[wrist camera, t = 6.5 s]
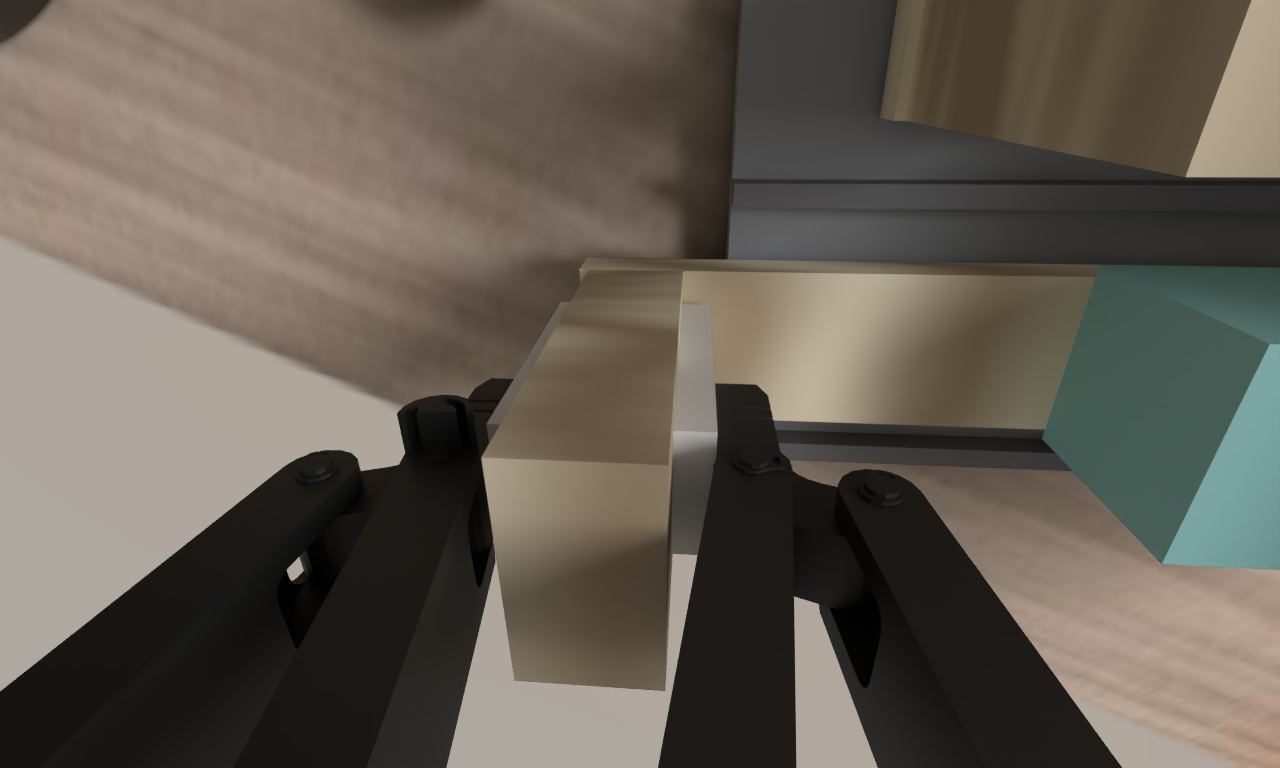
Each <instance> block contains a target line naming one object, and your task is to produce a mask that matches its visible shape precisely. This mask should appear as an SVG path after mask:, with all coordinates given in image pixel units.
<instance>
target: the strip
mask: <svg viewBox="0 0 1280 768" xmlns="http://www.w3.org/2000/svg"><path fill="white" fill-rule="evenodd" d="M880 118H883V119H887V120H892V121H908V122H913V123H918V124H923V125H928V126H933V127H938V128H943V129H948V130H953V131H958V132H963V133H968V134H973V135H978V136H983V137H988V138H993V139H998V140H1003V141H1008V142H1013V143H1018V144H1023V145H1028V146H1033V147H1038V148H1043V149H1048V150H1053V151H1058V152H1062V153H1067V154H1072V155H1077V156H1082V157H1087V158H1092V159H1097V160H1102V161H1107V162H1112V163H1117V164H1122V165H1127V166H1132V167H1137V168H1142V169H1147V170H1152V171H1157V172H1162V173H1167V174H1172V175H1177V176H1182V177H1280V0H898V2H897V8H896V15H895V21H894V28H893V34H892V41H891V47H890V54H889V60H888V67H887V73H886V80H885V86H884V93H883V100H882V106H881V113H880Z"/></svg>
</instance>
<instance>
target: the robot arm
mask: <svg viewBox="0 0 1280 768" xmlns="http://www.w3.org/2000/svg"><path fill="white" fill-rule="evenodd" d="M48 1H49V0H0V41H2V40H4V39H6V38H8V37H9V36H11V35H13V34H14V33H15V32H17V31H18V30H20V29H21V28H22V27H24V26H25V25H26V24H27V23H28V22H29V21H30V20H31V19H33V18H34V17H35V16H36V15H37V14H38V13H39V11H40V10H41V9H42V8H43V7H44V5H45V4H46V3H47V2H48ZM569 303H570V302H561V303H560V304H559V306H558V308H557V309H556V311H555V313H554V314H553V316H552V317H551V319H550V321H549V322H548V324H547V326H546V327H545V329H544V331H543V332H542V334H541V335H540V337H539V339H538V340H537V342H536V344H535V345H534V347H533V349H532V350H531V352H530V354H529V355H528V357H527V358H526V360H525V362H524V363H523V365H522V367H521V368H520V370H519V372H518V373H517V375H516V377H515V378H514V379H497V378H491V379H489V380H488V381H486V382H485V383H483V384H481V385H480V386H478V387H476V388H475V389H474V391H473V392H472V394H471V395H470V396H469V398H468V399H466V398H463V397H460V396H454V395H438V396H430V397H426V398H423V399H419V400H416V401H414V402H412V403H410V404H408V405H406V406H404V407H403V408H402V409H401V410H400V411H399V412H398V413H397V416H398V421H399V425H400V430H401V435H402V439H403V444H404V449H405V455H404V457H403V458H402V460H401V462H400V464H399V465H397V466H392V467H386V468H379V469H372V470H366V471H360V467H359V463H358V459H357V458H356V457H355V456H354V455H353V454H352V453H349V452H345V451H341V450H340V451H339V450H335V451H334V450H333V451H332V450H325V451H320V452H313V453H310V454H308V455H306V456H304V457H301V458H298V459H296V460H294V461H293V462H291V463H289V464H288V465H286V466H285V467H283V468H282V469H281V470H279V471H278V472H277V473H276V474H274V475H273V476H272V477H271V478H269V479H268V480H267V481H266V482H264V483H263V484H262V485H260V486H259V487H258V488H257V489H255V490H254V491H253V492H252V493H250V494H249V495H248V496H247V497H245V498H244V499H243V500H241V501H240V502H239V503H238V504H236V505H235V506H234V507H233V508H232V509H230V510H229V511H228V512H226V513H225V514H224V515H223V516H222V517H220V518H219V519H218V520H216V521H215V522H214V523H212V524H211V525H210V526H209V527H208V528H206V529H205V530H204V531H202V532H201V533H200V534H199V535H197V536H196V537H195V538H193V539H192V540H191V541H190V542H188V543H187V544H186V545H185V546H183V547H182V548H181V549H180V550H178V551H177V552H176V553H175V554H173V555H172V556H171V557H169V558H168V559H167V560H166V561H165V562H163V563H162V564H161V565H159V566H158V567H157V568H156V569H154V570H153V571H152V572H151V573H149V574H148V575H147V576H146V577H144V578H143V579H142V580H141V581H139V582H138V583H137V584H135V585H134V586H133V587H132V588H131V589H129V590H128V591H127V592H125V593H124V594H123V595H122V596H120V597H119V598H118V599H117V600H115V601H114V602H113V603H111V604H110V605H109V606H108V607H106V608H105V609H104V610H103V611H101V612H100V613H99V614H98V615H96V616H95V617H94V618H93V619H91V620H90V621H89V622H88V623H86V624H85V625H84V626H82V627H81V628H80V629H79V630H77V631H76V632H75V633H74V634H72V635H71V636H70V637H69V638H67V639H66V640H65V641H63V642H62V643H61V644H60V645H58V646H57V647H56V648H55V649H53V650H52V651H51V652H50V653H48V654H47V655H46V656H44V657H43V658H42V659H41V660H40V661H38V662H37V663H36V664H34V665H33V666H32V667H31V668H29V669H28V670H27V671H26V672H24V673H23V674H22V675H20V676H19V677H18V678H17V679H16V680H14V681H13V682H12V683H10V684H9V685H8V686H7V687H6V688H4V689H3V690H2V691H0V768H446V766H447V762H448V758H449V754H450V750H451V746H452V741H453V737H454V733H455V729H456V725H457V720H458V715H459V712H460V708H461V704H462V699H463V695H464V691H465V687H466V682H467V678H468V674H469V670H470V666H471V661H472V657H473V653H474V649H475V645H476V641H477V636H478V632H479V628H480V624H481V620H482V615H483V611H484V607H485V603H486V598H487V594H488V590H489V586H490V582H491V577H492V573H493V569H494V565H495V549H494V543H493V533H492V526H491V519H490V513H489V506H488V499H487V493H486V486H485V479H484V473H483V466H482V459H481V457H482V455H483V454H484V452H485V450H486V448H487V447H488V445H489V443H490V441H491V440H492V438H493V436H494V434H495V433H496V431H497V429H498V427H499V426H500V424H501V422H502V420H503V419H504V417H505V415H506V413H507V412H508V410H509V408H510V406H511V405H512V403H513V401H514V399H515V398H516V396H517V394H518V392H519V391H520V389H521V387H522V385H523V384H524V382H525V380H526V378H527V377H528V375H529V373H530V371H531V370H532V368H533V366H534V364H535V363H536V361H537V359H538V357H539V356H540V354H541V352H542V350H543V349H544V347H545V345H546V343H547V342H548V340H549V338H550V336H551V335H552V333H553V331H554V329H555V328H556V326H557V324H558V322H559V321H560V319H561V317H562V315H563V314H564V312H565V310H566V308H567V307H568V305H569ZM671 554H690V555H698V556H697V562H696V567H695V573H694V578H693V583H692V589H691V594H690V599H689V604H688V610H687V615H686V621H685V626H684V631H683V637H682V642H681V648H680V653H679V658H678V664H677V669H676V674H675V680H674V685H673V691H672V696H671V701H670V706H669V712H668V717H667V722H666V728H665V733H664V738H663V744H662V749H661V755H660V760H659V765H658V768H796V720H795V719H796V715H795V714H796V712H795V642H794V596H795V597H798V598H801V599H805V600H808V601H811V602H814V603H818V604H819V609H820V614H821V617H822V619H823V622H824V625H825V627H826V630H827V633H828V635H829V638H830V640H831V643H832V646H833V649H834V651H835V654H836V657H837V659H838V662H839V664H840V667H841V670H842V673H843V676H844V678H845V681H846V684H847V686H848V689H849V691H850V694H851V697H852V699H853V702H854V705H855V708H856V710H857V713H858V716H859V718H860V721H861V724H862V727H863V729H864V732H865V735H866V737H867V740H868V742H869V745H870V748H871V751H872V753H873V756H874V759H875V761H876V764H877V767H878V768H1122V767H1121V766H1120V764H1119V763H1118V762H1117V760H1116V759H1115V758H1114V756H1113V755H1112V754H1111V752H1110V751H1109V749H1108V748H1107V746H1106V745H1105V744H1104V742H1103V741H1102V740H1101V738H1100V737H1099V736H1098V734H1097V733H1096V731H1095V730H1094V729H1093V727H1092V726H1091V724H1090V723H1089V722H1088V720H1087V719H1086V718H1085V716H1084V715H1083V713H1082V712H1081V711H1080V709H1079V708H1078V707H1077V705H1076V704H1075V702H1074V701H1073V700H1072V698H1071V697H1070V696H1069V694H1068V693H1067V691H1066V690H1065V689H1064V687H1063V686H1062V685H1061V683H1060V682H1059V680H1058V679H1057V678H1056V676H1055V675H1054V674H1053V672H1052V671H1051V669H1050V668H1049V667H1048V665H1047V664H1046V663H1045V661H1044V660H1043V658H1042V657H1041V656H1040V654H1039V653H1038V652H1037V650H1036V649H1035V647H1034V646H1033V645H1032V643H1031V642H1030V641H1029V639H1028V638H1027V636H1026V635H1025V634H1024V632H1023V631H1022V630H1021V628H1020V627H1019V625H1018V624H1017V623H1016V621H1015V620H1014V619H1013V617H1012V616H1011V614H1010V613H1009V612H1008V610H1007V609H1006V608H1005V606H1004V605H1003V603H1002V602H1001V601H1000V599H999V598H998V597H997V595H996V594H995V592H994V591H993V590H992V588H991V587H990V586H989V584H988V583H987V581H986V580H985V579H984V577H983V576H982V575H981V573H980V572H979V570H978V569H977V568H976V566H975V565H974V564H973V562H972V561H971V559H970V558H969V557H968V555H967V554H966V553H965V551H964V550H963V548H962V547H961V546H960V544H959V543H958V542H957V540H956V539H955V537H954V536H953V535H952V533H951V532H950V531H949V529H948V528H947V526H946V525H945V524H944V522H943V521H942V520H941V518H940V517H939V515H938V514H937V513H936V511H935V510H934V509H933V507H932V506H931V504H930V503H929V502H928V500H927V499H926V498H925V496H924V495H923V493H922V492H921V491H920V490H919V489H918V488H917V487H916V486H915V485H914V484H913V483H912V482H910V481H908V480H906V479H904V478H902V477H900V476H898V475H896V474H893V473H890V472H886V471H882V470H870V469H864V470H857V471H852V472H850V473H848V474H846V475H844V476H843V477H842V478H841V480H840V482H839V484H838V487H834V486H830V485H826V484H821V483H818V482H815V481H811V480H808V479H806V478H804V477H802V476H800V475H798V474H796V473H795V472H793V471H792V466H791V463H790V461H789V459H788V458H787V457H786V456H785V455H784V454H783V453H781V452H780V447H779V443H778V438H777V434H776V429H775V425H774V420H773V416H772V411H771V407H770V402H769V398H768V395H767V394H766V393H765V392H764V391H763V390H762V389H761V388H760V387H758V386H757V385H756V384H723V383H715V377H714V359H713V341H712V323H711V306H710V305H699V304H682V313H681V328H680V342H679V357H678V372H677V387H676V401H675V416H674V431H673V485H672V540H671ZM298 557H300V560H301V563H302V566H303V569H304V571H303V572H302V573H301V574H300V576H299V577H297V578H296V579H295V580H293V581H291V580H290V579H289V576H288V573H287V568H288V567H289V566H290V565H291V564H292V563H293V562H294V561H295V560H296V559H297V558H298Z"/></svg>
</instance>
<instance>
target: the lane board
mask: <svg viewBox="0 0 1280 768" xmlns="http://www.w3.org/2000/svg"><path fill="white" fill-rule="evenodd" d="M897 2H898V0H740V7H739V25H738V43H737V62H736V80H735V98H734V116H733V135H732V153H731V171H730V189H729V208H728V226H727V244H726V260H793V261H867V262H942V263H1017V264H1091V265H1166V266H1241V267H1280V177H1182V176H1177V175H1172V174H1167V173H1162V172H1157V171H1152V170H1147V169H1142V168H1137V167H1132V166H1127V165H1122V164H1117V163H1112V162H1107V161H1102V160H1097V159H1092V158H1087V157H1082V156H1077V155H1072V154H1067V153H1062V152H1058V151H1053V150H1048V149H1043V148H1038V147H1033V146H1028V145H1023V144H1018V143H1013V142H1008V141H1003V140H998V139H993V138H988V137H983V136H978V135H973V134H968V133H963V132H958V131H953V130H948V129H943V128H938V127H933V126H928V125H923V124H918V123H913V122H908V121H892V120H887V119H883V118H880V113H881V106H882V100H883V93H884V86H885V80H886V73H887V67H888V60H889V54H890V47H891V41H892V34H893V28H894V21H895V15H896V8H897ZM774 425H775V429H776V434H777V438H778V443H779V447H780V452H781V453H783V454H784V455H785V456H786V457H787V458H788V459H789V460H806V461H831V462H857V463H883V464H908V465H934V466H960V467H986V468H1011V469H1037V470H1063V471H1072V470H1071V469H1070V468H1069V467H1068V465H1067V464H1066V463H1065V462H1064V461H1063V460H1062V459H1061V458H1060V457H1059V456H1058V455H1057V454H1056V453H1055V452H1054V451H1053V450H1052V449H1051V448H1050V447H1049V446H1048V445H1047V444H1046V443H1045V441H1044V440H1043V439H1042V437H1043V434H1044V431H1045V430H1042V429H1013V428H983V427H954V426H924V425H895V424H865V423H836V422H806V421H777V420H774Z"/></svg>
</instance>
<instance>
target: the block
mask: <svg viewBox="0 0 1280 768" xmlns="http://www.w3.org/2000/svg"><path fill="white" fill-rule="evenodd" d="M1042 439H1043V440H1044V441H1045V443H1046V444H1047V445H1048V446H1049V447H1050V448H1051V449H1052V450H1053V451H1054V452H1055V453H1056V454H1057V455H1058V456H1059V457H1060V458H1061V459H1062V460H1063V461H1064V462H1065V463H1066V464H1067V465H1068V467H1069V468H1070V469H1071V470H1072V471H1073V472H1074V473H1075V474H1076V475H1077V476H1078V477H1079V478H1080V479H1081V480H1082V481H1083V482H1084V483H1085V484H1086V485H1087V486H1088V487H1089V488H1090V490H1091V491H1092V492H1093V493H1094V494H1095V495H1096V496H1097V497H1098V498H1099V499H1100V500H1101V501H1102V502H1103V503H1104V504H1105V505H1106V506H1107V507H1108V508H1109V509H1110V510H1111V511H1112V512H1113V514H1114V515H1115V516H1116V517H1117V518H1118V519H1119V520H1120V521H1121V522H1122V523H1123V524H1124V525H1125V526H1126V527H1127V528H1128V529H1129V530H1130V531H1131V532H1132V533H1133V534H1134V535H1135V536H1136V538H1137V539H1138V540H1139V541H1140V542H1141V543H1142V544H1143V545H1144V546H1145V547H1146V548H1147V549H1148V550H1149V551H1150V552H1151V553H1152V554H1153V555H1154V556H1155V557H1156V558H1157V559H1158V560H1159V562H1160V563H1161V564H1173V565H1193V566H1213V567H1233V568H1253V569H1273V570H1280V268H1253V267H1178V266H1104V265H1100V267H1099V270H1098V273H1097V276H1096V279H1095V282H1094V285H1093V288H1092V291H1091V294H1090V296H1089V299H1088V302H1087V305H1086V308H1085V311H1084V314H1083V317H1082V320H1081V323H1080V326H1079V329H1078V332H1077V335H1076V338H1075V341H1074V344H1073V347H1072V350H1071V353H1070V356H1069V359H1068V362H1067V365H1066V368H1065V371H1064V374H1063V377H1062V380H1061V383H1060V386H1059V389H1058V392H1057V395H1056V398H1055V401H1054V404H1053V407H1052V410H1051V413H1050V416H1049V419H1048V422H1047V425H1046V428H1045V431H1044V434H1043V437H1042Z"/></svg>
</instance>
